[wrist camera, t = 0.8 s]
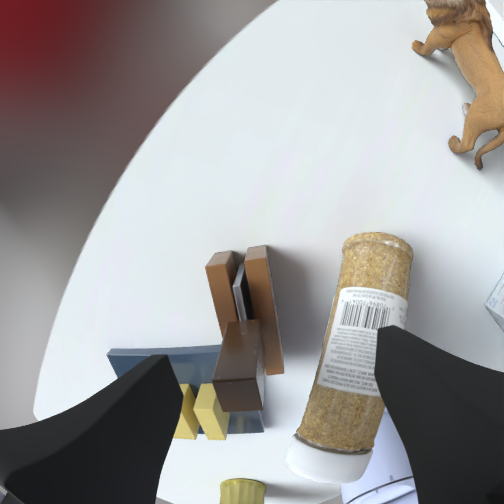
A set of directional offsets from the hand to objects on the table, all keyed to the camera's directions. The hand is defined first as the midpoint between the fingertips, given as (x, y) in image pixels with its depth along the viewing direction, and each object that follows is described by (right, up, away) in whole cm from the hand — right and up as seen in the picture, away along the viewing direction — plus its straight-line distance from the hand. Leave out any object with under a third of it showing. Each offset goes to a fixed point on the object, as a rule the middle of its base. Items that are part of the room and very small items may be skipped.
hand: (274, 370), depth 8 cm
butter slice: (-4, -8, +12) cm, 15 cm away
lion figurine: (+13, +17, +5) cm, 23 cm away
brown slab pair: (-1, 0, +10) cm, 10 cm away
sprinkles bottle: (+7, +4, +7) cm, 11 cm away
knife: (-1, 0, +10) cm, 10 cm away
